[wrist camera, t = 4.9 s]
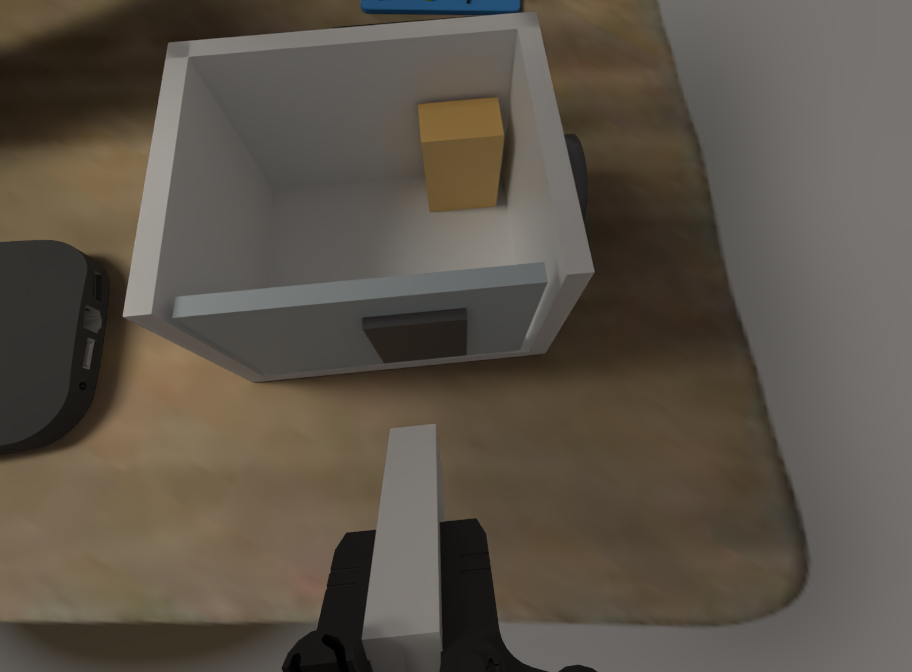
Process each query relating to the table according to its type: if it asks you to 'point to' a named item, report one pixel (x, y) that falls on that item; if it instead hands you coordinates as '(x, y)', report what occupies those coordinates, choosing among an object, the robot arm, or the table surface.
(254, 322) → the side door
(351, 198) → the open box
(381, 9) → the handheld gaming device
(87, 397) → the media streaming box
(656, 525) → the table surface
